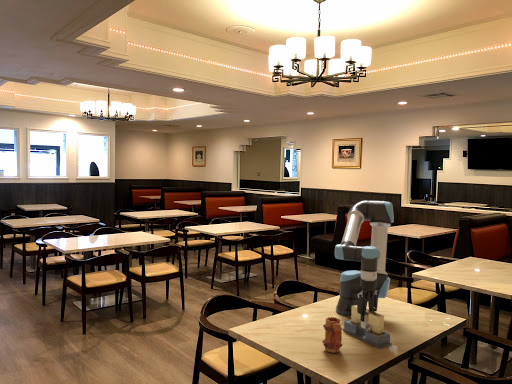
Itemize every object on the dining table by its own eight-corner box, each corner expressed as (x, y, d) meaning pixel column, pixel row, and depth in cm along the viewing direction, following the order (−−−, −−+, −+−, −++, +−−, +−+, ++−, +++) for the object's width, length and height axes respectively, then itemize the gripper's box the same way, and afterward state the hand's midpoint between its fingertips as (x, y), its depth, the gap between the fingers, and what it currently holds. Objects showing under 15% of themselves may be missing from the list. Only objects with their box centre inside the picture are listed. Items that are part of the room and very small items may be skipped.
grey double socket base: (342, 330, 208) (343, 320, 208) (354, 327, 212) (354, 317, 212) (379, 348, 188) (380, 338, 187) (391, 345, 192) (392, 334, 191)
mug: (320, 346, 189) (321, 313, 188) (337, 345, 190) (339, 313, 189) (328, 361, 174) (330, 326, 173) (347, 360, 175) (348, 326, 174)
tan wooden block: (350, 323, 206) (351, 305, 205) (356, 322, 208) (356, 304, 207) (378, 336, 191) (378, 317, 191) (383, 334, 193) (384, 315, 192)
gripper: (361, 283, 191) (359, 332, 192) (386, 278, 199) (384, 326, 201) (350, 279, 197) (348, 327, 198) (374, 275, 206) (372, 321, 207)
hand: (366, 326), depth 199 cm, fingers closed on tan wooden block, 3 cm apart
